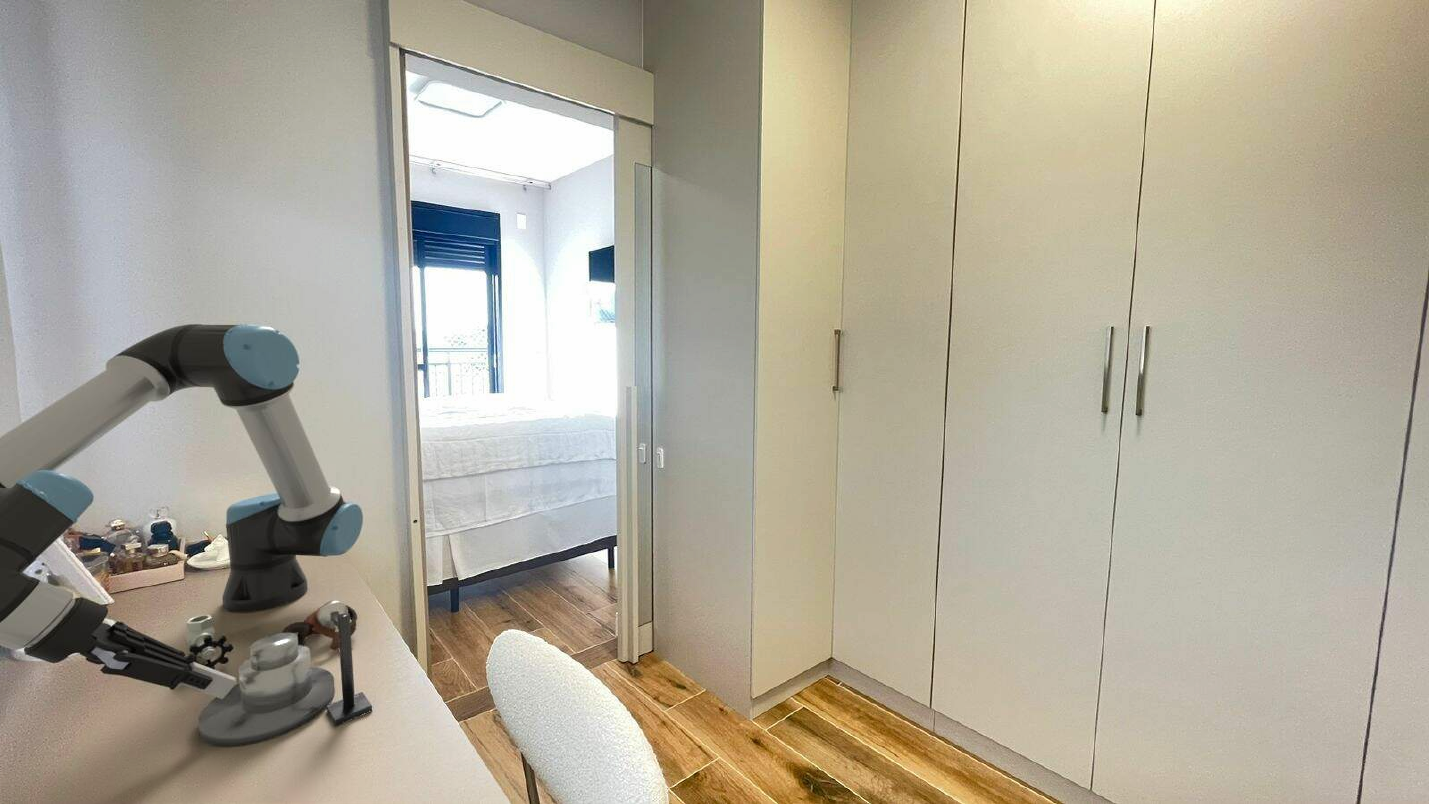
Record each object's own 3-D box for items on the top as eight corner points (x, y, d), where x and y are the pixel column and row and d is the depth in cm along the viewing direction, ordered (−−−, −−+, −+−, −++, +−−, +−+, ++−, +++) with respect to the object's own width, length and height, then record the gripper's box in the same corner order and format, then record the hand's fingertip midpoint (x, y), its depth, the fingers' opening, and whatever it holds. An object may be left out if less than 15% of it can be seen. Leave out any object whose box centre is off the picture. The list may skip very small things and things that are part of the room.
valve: (176, 655, 106) (185, 681, 98) (173, 621, 105) (182, 645, 98) (223, 641, 111) (235, 665, 103) (220, 609, 110) (232, 630, 102)
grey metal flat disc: (193, 709, 91) (192, 697, 90) (320, 666, 103) (319, 655, 103) (206, 765, 79) (205, 751, 79) (347, 708, 91) (347, 696, 91)
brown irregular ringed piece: (333, 627, 118) (351, 595, 116) (351, 661, 113) (370, 628, 112) (266, 638, 107) (284, 603, 106) (282, 676, 102) (302, 640, 101)
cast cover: (239, 694, 91) (235, 641, 90) (307, 672, 98) (304, 622, 97) (244, 722, 85) (239, 665, 84) (317, 696, 91) (313, 643, 90)
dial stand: (319, 698, 94) (313, 606, 92) (354, 685, 97) (348, 596, 96) (335, 726, 87) (328, 627, 85) (372, 711, 91) (366, 615, 89)
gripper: (24, 631, 76) (202, 693, 90) (13, 671, 67) (213, 733, 81) (79, 581, 79) (243, 649, 93) (76, 613, 70) (257, 682, 84)
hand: (229, 688), depth 87 cm, fingers closed
